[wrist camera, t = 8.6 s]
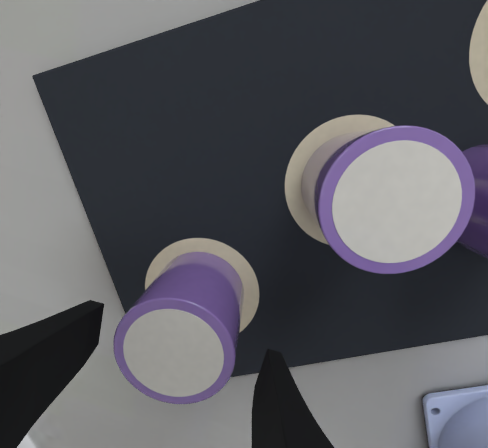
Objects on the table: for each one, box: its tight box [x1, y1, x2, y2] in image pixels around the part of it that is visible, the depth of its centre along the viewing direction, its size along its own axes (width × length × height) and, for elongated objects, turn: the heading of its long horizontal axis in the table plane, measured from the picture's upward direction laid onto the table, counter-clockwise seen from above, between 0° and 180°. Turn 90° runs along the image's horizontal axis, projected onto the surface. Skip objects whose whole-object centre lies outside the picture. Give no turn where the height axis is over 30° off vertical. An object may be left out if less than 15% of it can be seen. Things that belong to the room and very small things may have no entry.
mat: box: [33, 0, 488, 377], centre depth 15 cm, size 19×28×1 cm
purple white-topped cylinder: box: [301, 125, 475, 274], centre depth 12 cm, size 5×5×5 cm
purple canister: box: [114, 252, 244, 404], centre depth 14 cm, size 5×5×5 cm
